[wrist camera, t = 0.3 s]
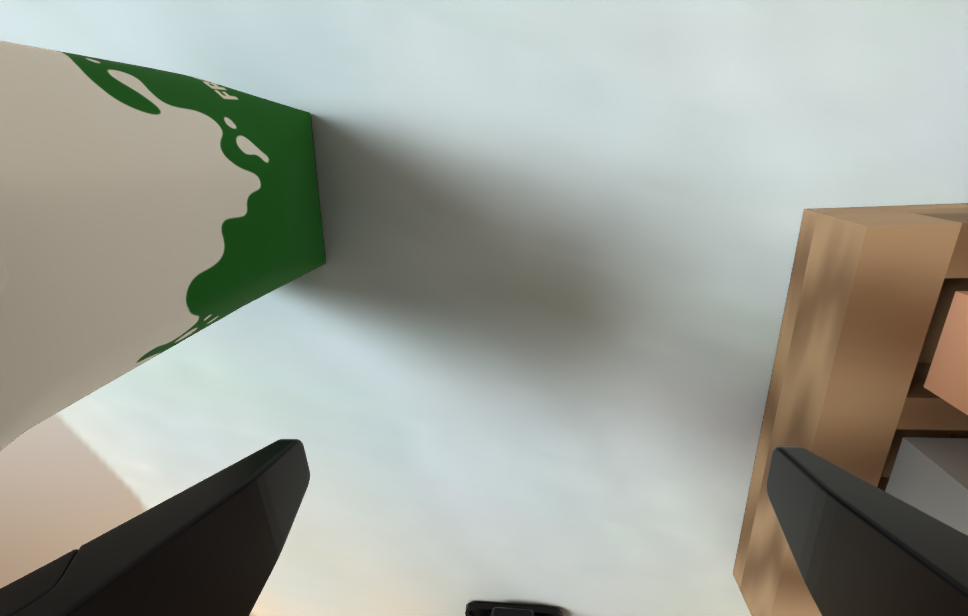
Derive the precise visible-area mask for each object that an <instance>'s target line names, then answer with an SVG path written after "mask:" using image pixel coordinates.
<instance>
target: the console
mask: <svg viewBox="0 0 968 616" xmlns="http://www.w3.org/2000/svg"><path fill="white" fill-rule="evenodd" d="M956 291H968V203H962V204H934V205H906V206H878V207H851V208H823V209H804V213H803V218H802V223H801V228H800V233H799V238H798V243H797V248H796V254H795V259H794V264H793V269H792V274H791V279H790V284H789V289H788V294H787V300H786V305H785V310H784V315H783V320H782V325H781V330H780V335H779V340H778V346H777V351H776V356H775V361H774V366H773V371H772V376H771V381H770V387H769V392H768V397H767V402H766V407H765V412H764V417H763V422H762V427H761V433H760V438H759V443H758V448H757V453H756V458H755V463H754V468H753V473H752V479H751V484H750V489H749V494H748V499H747V504H746V509H745V514H744V520H743V525H742V530H741V535H740V540H739V545H738V550H737V555H736V560H735V566H734V571H733V575H734V578H735V580H736V582H737V584H738V586H739V589H740V591H741V593H742V595H743V598H744V600H745V602H746V604H747V606H748V609H749V611H750V613H751V615H752V616H822V615H821V613H820V611H819V609H818V607H817V605H816V603H815V602H814V600H813V598H812V596H811V594H810V592H809V590H808V588H807V586H806V584H805V582H804V580H803V578H802V576H801V574H800V571H799V569H798V567H797V564H796V562H795V560H794V557H793V555H792V553H791V550H790V548H789V545H788V543H787V541H786V538H785V536H784V533H783V531H782V529H781V526H780V524H779V522H778V519H777V517H776V514H775V512H774V510H773V507H772V505H771V502H770V500H769V498H768V494H767V489H766V482H767V476H768V471H769V465H770V460H771V455H772V452H773V450H774V448H776V447H778V446H795V447H802V448H804V449H806V450H808V451H810V452H812V453H814V454H816V455H817V456H819V457H821V458H823V459H825V460H827V461H829V462H831V463H832V464H834V465H836V466H838V467H840V468H842V469H844V470H846V471H847V472H849V473H851V474H853V475H855V476H857V477H859V478H861V479H862V480H864V481H866V482H868V483H870V484H872V485H874V486H876V487H877V488H879V489H881V490H883V491H885V490H886V487H887V484H888V481H889V478H890V475H891V472H892V469H893V466H894V463H895V460H896V457H897V454H898V451H899V448H900V445H901V442H902V439H903V437H920V438H968V415H966V414H965V413H963V412H962V411H960V410H959V409H957V408H956V407H954V406H952V405H951V404H949V403H948V402H946V401H945V400H943V399H941V398H940V397H938V396H937V395H935V394H934V393H932V392H931V391H929V390H927V389H926V388H924V384H925V381H926V378H927V375H928V372H929V369H930V366H931V363H932V360H933V357H934V354H935V351H936V348H937V345H938V342H939V339H940V336H941V333H942V330H943V327H944V324H945V321H946V318H947V315H948V312H949V309H950V306H951V303H952V300H953V298H954V295H955V292H956Z"/></svg>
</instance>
